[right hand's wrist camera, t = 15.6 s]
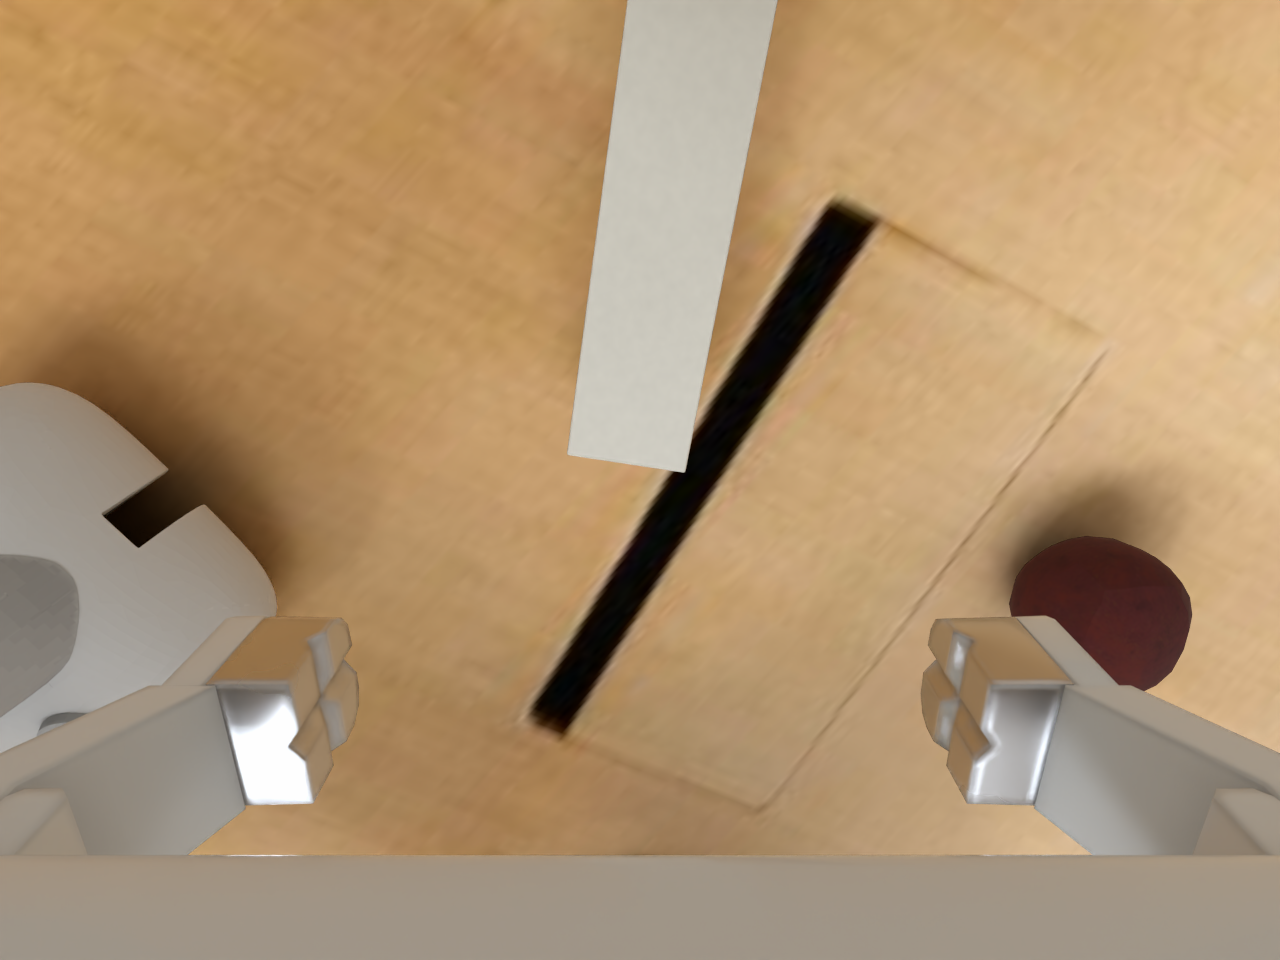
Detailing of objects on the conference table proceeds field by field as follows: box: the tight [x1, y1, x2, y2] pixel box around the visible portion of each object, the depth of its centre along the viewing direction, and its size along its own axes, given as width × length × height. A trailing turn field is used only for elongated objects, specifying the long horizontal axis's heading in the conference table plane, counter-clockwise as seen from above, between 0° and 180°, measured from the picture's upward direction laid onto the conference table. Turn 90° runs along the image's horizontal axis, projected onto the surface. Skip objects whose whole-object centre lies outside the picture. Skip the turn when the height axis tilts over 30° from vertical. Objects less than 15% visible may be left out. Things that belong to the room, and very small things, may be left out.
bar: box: [567, 0, 778, 472], centre depth 28 cm, size 25×5×8 cm, turn 171°
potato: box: [1009, 536, 1192, 691], centre depth 36 cm, size 7×8×7 cm
